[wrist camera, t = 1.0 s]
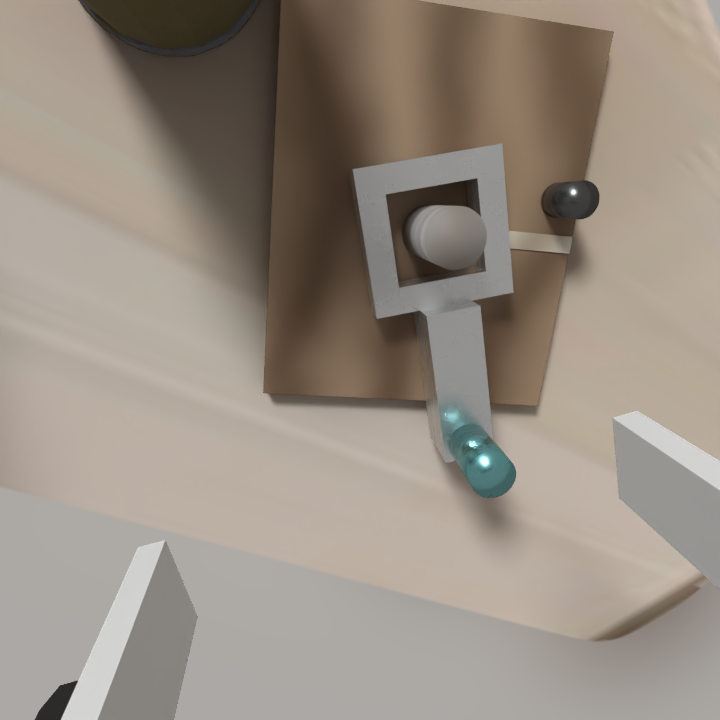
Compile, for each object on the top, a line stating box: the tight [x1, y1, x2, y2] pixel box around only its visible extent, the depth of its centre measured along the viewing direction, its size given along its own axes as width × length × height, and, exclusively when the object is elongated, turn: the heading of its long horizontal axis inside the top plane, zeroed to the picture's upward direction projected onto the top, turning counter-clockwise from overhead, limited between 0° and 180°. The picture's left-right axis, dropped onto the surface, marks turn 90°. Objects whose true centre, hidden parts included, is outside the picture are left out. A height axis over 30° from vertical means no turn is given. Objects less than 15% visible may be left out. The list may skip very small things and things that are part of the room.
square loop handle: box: [349, 144, 516, 498], centre depth 28 cm, size 17×8×8 cm, turn 10°
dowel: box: [541, 181, 599, 219], centre depth 30 cm, size 2×2×4 cm
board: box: [263, 0, 614, 406], centre depth 28 cm, size 18×22×7 cm
